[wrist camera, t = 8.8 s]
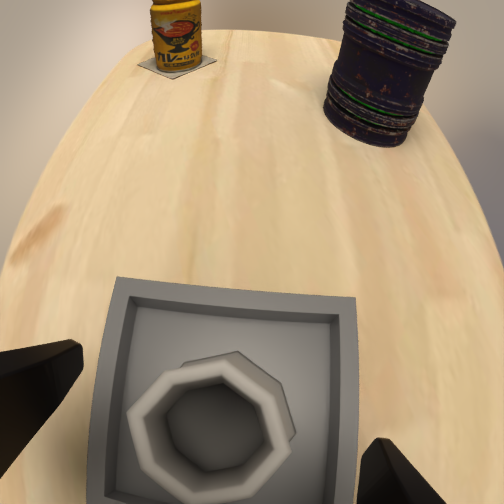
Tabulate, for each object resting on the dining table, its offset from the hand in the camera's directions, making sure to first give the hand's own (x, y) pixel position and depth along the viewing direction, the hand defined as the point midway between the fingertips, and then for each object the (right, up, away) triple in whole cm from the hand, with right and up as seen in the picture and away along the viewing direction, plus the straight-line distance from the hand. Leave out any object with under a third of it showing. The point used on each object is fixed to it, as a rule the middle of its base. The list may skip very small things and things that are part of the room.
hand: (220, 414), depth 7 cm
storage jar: (+13, +19, +22) cm, 31 cm away
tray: (-1, -4, +7) cm, 8 cm away
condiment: (-9, +29, +26) cm, 40 cm away
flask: (-1, -4, +6) cm, 8 cm away
